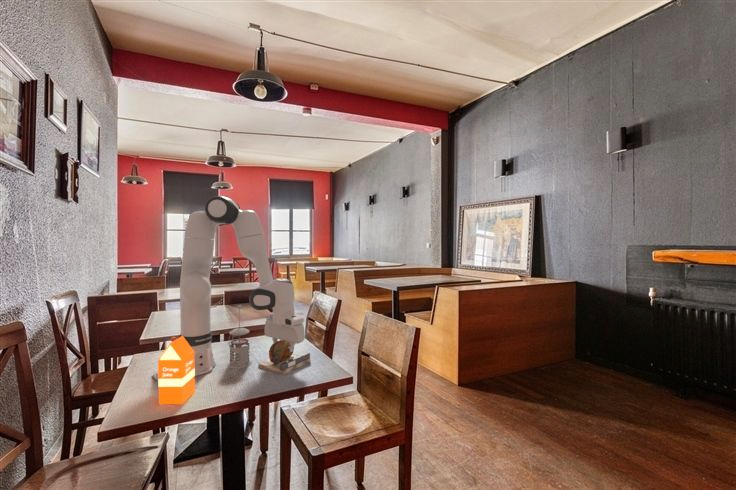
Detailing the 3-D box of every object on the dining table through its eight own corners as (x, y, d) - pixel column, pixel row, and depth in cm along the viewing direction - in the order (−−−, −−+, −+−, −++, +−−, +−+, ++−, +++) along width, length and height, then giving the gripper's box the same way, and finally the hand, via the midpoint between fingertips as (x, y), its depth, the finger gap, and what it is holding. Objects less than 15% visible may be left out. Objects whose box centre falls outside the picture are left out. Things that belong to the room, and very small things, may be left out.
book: (282, 374, 138) (282, 370, 138) (258, 367, 145) (258, 363, 145) (310, 361, 151) (310, 358, 151) (286, 355, 159) (286, 352, 159)
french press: (235, 370, 142) (235, 308, 141) (220, 363, 149) (219, 304, 148) (256, 363, 149) (256, 304, 148) (241, 357, 156) (240, 301, 155)
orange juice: (195, 392, 123) (194, 335, 122) (182, 404, 114) (181, 343, 113) (172, 392, 122) (171, 335, 121) (158, 405, 113) (156, 343, 113)
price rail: (282, 370, 138) (282, 364, 138) (280, 370, 138) (280, 364, 138) (310, 358, 151) (310, 352, 151) (307, 357, 152) (307, 352, 152)
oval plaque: (274, 366, 142) (273, 346, 141) (267, 365, 143) (267, 345, 143) (294, 354, 156) (294, 335, 155) (288, 353, 157) (288, 334, 157)
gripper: (260, 315, 151) (261, 347, 151) (296, 322, 140) (296, 356, 140) (272, 312, 156) (272, 343, 157) (306, 319, 145) (306, 352, 146)
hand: (283, 349), depth 148 cm, fingers open, 6 cm apart
